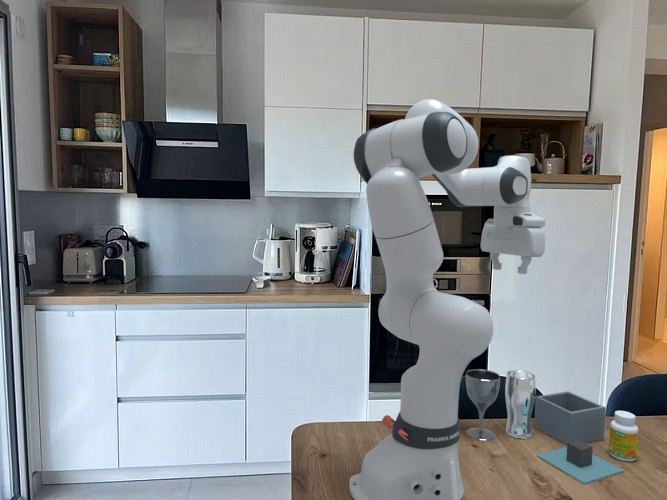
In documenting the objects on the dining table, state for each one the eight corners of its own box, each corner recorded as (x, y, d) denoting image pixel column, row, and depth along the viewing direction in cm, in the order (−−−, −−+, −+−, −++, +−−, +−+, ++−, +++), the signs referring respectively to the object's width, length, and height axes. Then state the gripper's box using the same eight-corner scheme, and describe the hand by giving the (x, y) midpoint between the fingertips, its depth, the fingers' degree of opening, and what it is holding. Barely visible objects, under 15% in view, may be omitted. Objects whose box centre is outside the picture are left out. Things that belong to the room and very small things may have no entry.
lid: (584, 487, 95) (585, 463, 95) (536, 459, 106) (537, 437, 106) (623, 474, 100) (624, 451, 99) (574, 449, 111) (575, 428, 110)
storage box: (569, 446, 110) (571, 413, 110) (534, 427, 121) (535, 396, 120) (603, 439, 114) (605, 407, 114) (566, 420, 125) (568, 391, 124)
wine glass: (460, 426, 121) (462, 368, 119) (492, 427, 120) (494, 369, 119) (468, 441, 113) (470, 379, 112) (502, 442, 112) (504, 380, 111)
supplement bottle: (609, 458, 105) (612, 416, 105) (607, 448, 110) (610, 407, 109) (638, 464, 103) (641, 421, 102) (634, 453, 108) (637, 412, 107)
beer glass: (536, 441, 113) (539, 380, 112) (505, 438, 114) (508, 377, 113) (530, 428, 120) (533, 370, 119) (501, 426, 121) (503, 368, 120)
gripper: (476, 218, 132) (474, 267, 133) (530, 219, 113) (528, 276, 114) (494, 218, 135) (492, 266, 136) (550, 219, 116) (548, 275, 117)
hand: (509, 271), depth 125 cm, fingers open, 8 cm apart
